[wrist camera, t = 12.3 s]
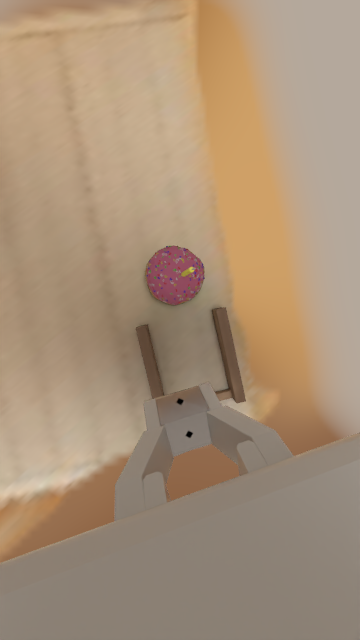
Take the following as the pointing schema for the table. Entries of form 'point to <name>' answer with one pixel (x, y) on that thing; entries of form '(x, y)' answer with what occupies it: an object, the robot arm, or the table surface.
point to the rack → (226, 350)
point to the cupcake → (174, 275)
